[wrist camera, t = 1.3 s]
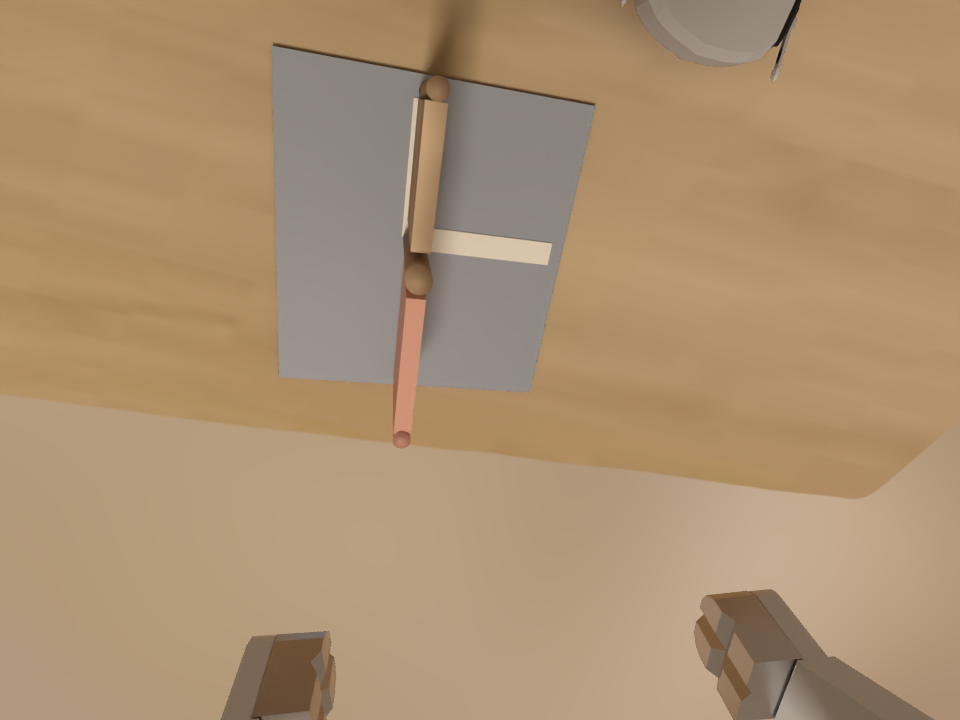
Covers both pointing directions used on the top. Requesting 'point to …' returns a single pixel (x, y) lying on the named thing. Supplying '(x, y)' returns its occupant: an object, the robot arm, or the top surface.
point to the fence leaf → (406, 362)
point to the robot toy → (720, 28)
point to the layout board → (383, 220)
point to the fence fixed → (425, 183)
